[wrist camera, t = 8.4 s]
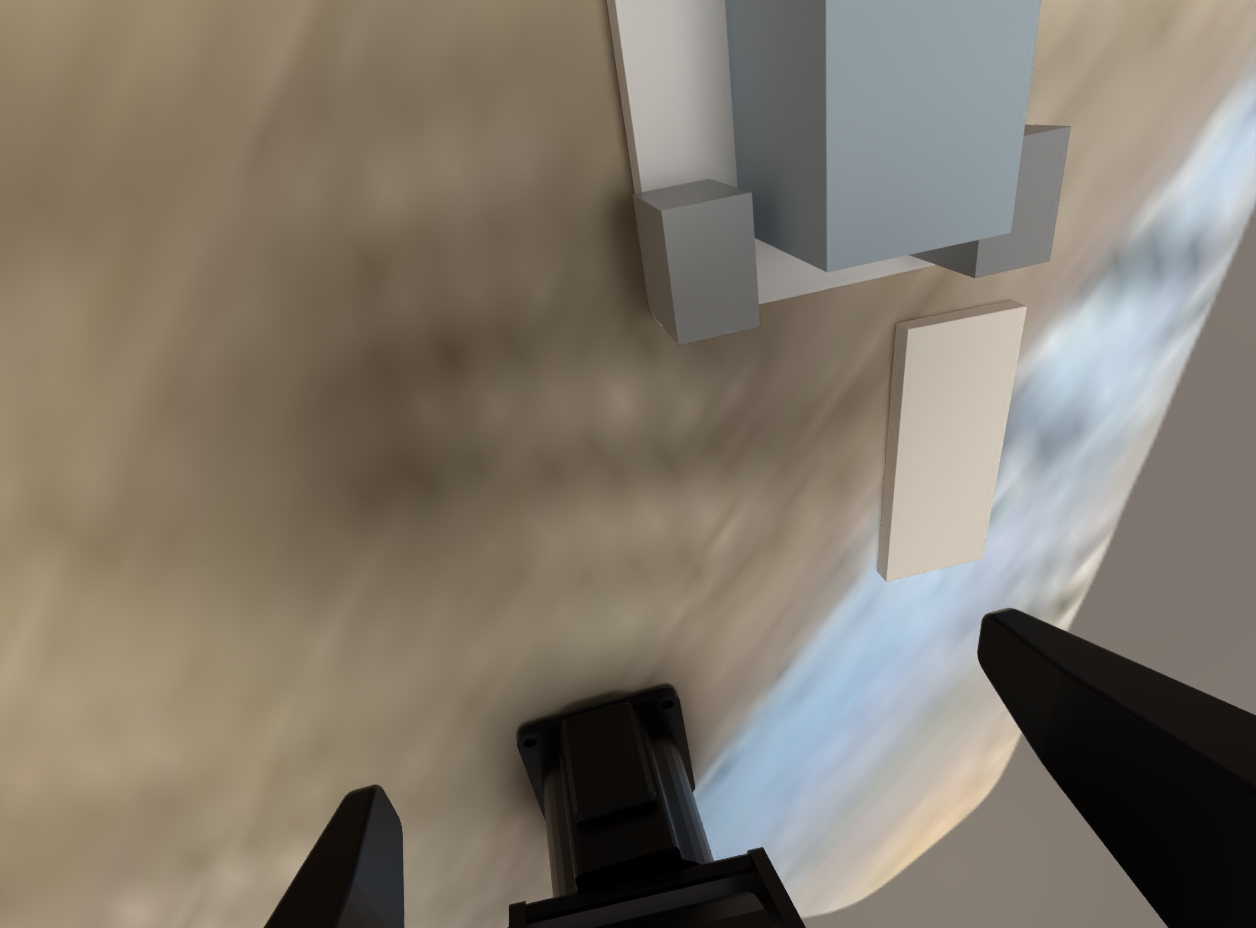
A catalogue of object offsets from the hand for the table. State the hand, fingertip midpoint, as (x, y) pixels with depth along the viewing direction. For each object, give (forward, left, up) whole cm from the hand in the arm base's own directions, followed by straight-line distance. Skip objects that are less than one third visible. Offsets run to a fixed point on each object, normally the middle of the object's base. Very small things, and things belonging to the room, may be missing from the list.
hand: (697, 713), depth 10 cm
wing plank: (-5, -12, -12) cm, 18 cm away
